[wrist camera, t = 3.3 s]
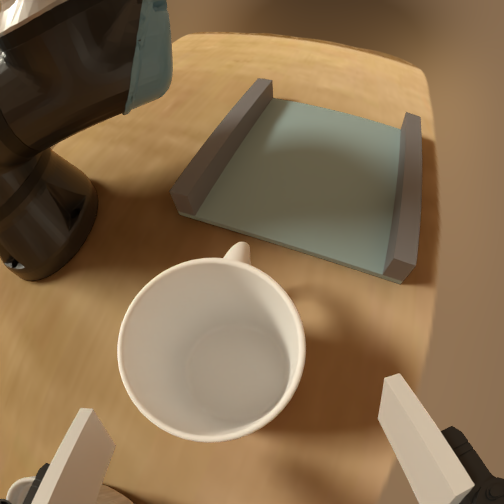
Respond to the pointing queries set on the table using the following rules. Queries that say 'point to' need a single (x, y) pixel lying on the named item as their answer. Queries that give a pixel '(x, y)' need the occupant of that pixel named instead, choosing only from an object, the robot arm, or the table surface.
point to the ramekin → (107, 499)
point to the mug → (212, 348)
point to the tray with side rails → (311, 182)
